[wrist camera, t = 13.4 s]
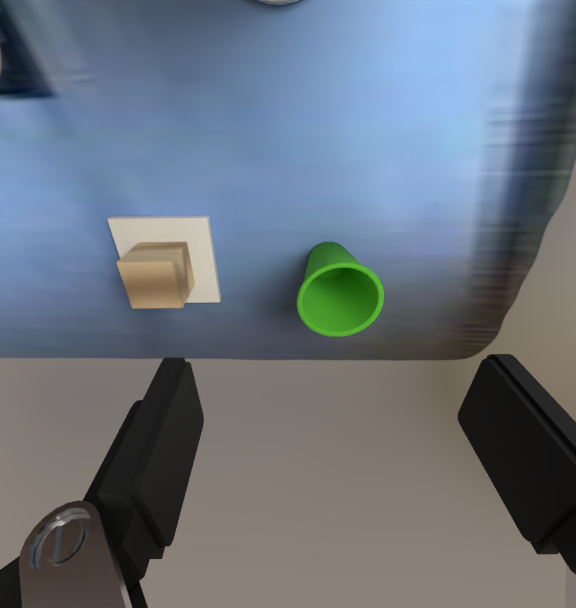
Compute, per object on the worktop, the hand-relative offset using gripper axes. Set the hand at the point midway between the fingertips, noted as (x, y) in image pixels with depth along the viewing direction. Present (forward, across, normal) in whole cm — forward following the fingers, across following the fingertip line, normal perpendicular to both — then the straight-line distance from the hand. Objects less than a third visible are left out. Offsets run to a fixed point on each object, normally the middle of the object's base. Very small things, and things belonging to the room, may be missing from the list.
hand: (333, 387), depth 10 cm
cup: (+31, -4, +9) cm, 32 cm away
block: (+29, +17, +9) cm, 35 cm away
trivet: (+30, +17, +9) cm, 36 cm away
